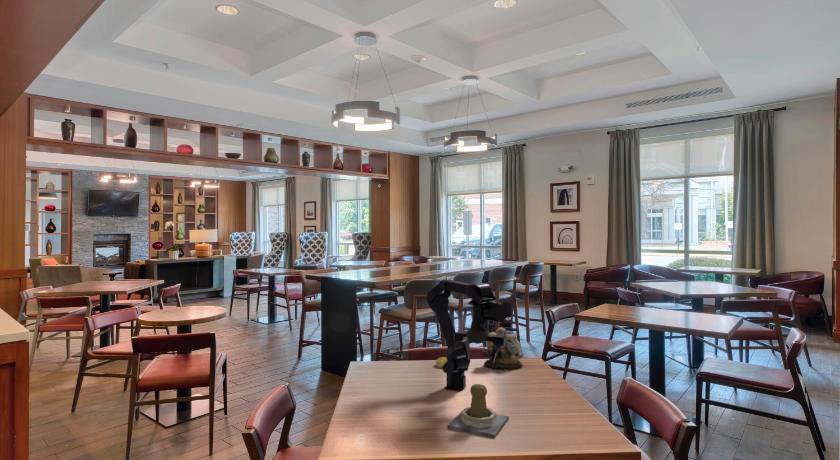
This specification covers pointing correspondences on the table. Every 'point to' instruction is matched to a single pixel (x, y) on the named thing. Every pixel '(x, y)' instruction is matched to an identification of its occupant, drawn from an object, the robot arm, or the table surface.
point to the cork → (478, 401)
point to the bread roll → (441, 362)
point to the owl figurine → (504, 353)
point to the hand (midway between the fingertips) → (480, 361)
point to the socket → (479, 423)
